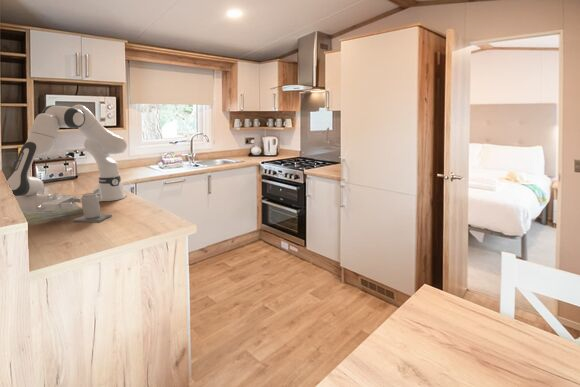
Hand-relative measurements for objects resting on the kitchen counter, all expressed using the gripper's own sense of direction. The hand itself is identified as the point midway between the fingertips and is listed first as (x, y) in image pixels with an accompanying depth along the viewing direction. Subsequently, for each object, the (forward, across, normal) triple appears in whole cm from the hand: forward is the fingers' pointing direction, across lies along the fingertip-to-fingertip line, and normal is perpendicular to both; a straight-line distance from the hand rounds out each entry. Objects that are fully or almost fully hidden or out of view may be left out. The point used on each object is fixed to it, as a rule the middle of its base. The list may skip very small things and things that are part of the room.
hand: (76, 202), depth 177 cm
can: (+7, 0, +8) cm, 10 cm away
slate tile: (+7, 0, +9) cm, 11 cm away
